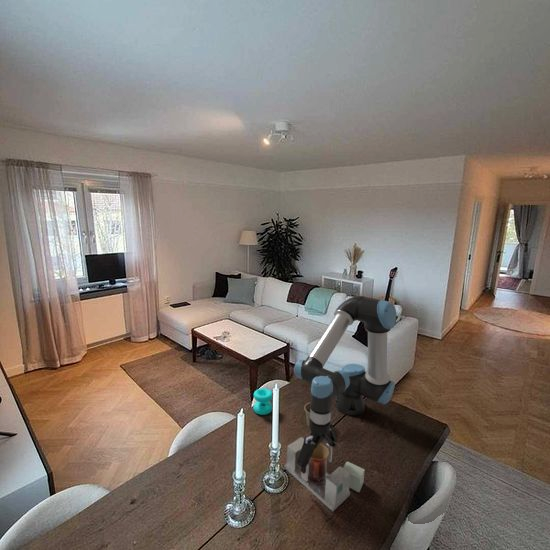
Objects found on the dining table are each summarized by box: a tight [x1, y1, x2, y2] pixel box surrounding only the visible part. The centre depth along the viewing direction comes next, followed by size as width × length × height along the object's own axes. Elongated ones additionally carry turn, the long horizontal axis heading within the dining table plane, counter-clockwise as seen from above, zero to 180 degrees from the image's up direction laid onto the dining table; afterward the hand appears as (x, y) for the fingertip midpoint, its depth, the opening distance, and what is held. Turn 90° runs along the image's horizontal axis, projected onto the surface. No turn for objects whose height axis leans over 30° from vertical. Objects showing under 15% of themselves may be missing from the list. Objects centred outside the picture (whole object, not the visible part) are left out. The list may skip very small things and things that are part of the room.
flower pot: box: [304, 402, 311, 427], centre depth 147 cm, size 9×9×9 cm
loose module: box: [342, 461, 366, 493], centre depth 115 cm, size 5×7×6 cm
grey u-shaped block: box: [284, 436, 351, 512], centre depth 115 cm, size 10×25×10 cm, turn 41°
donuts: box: [252, 387, 273, 416], centre depth 157 cm, size 10×10×10 cm
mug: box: [308, 442, 329, 481], centre depth 115 cm, size 12×9×10 cm
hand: (316, 469), depth 115 cm, fingers open, 13 cm apart
